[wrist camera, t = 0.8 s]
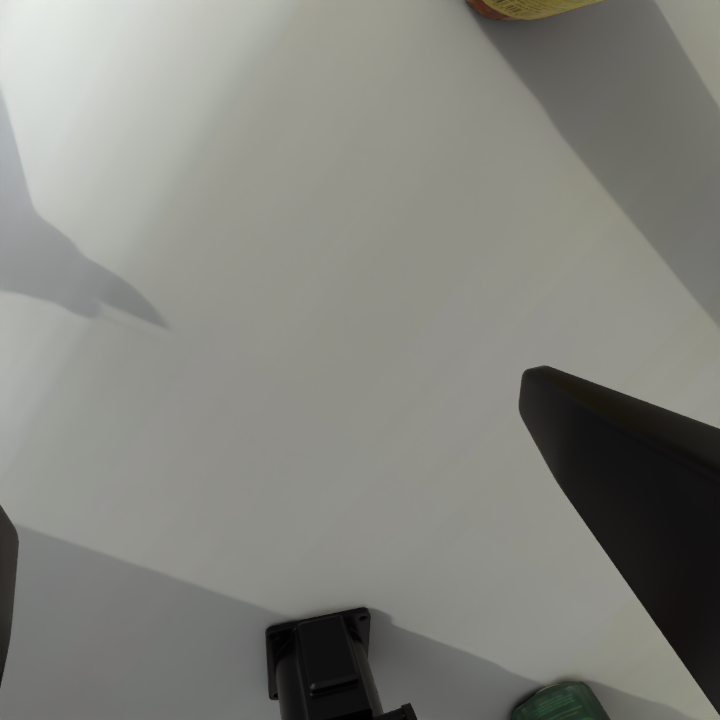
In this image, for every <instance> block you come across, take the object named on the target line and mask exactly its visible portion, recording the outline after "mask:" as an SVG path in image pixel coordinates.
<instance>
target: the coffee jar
mask: <svg viewBox="0 0 720 720" xmlns="http://www.w3.org/2000/svg"><path fill="white" fill-rule="evenodd" d="M511 720H611V719H610V718H609V716H608V715H607V713H606V711H605V710H604V708H603V707H602V705H601V704H600V702H599V700H598V699H597V697H596V696H595V694H594V693H593V691H592V690H591V688H590V687H589V686H588V685H586V684H585V683H583V682H571V683H563V684H554V685H551V686H548V687H545V688H543V689H541V690H539V691H538V692H536V693H535V695H534V696H533V697H532V698H530V699H529V700H528V701H526V702H525V703H523V704H522V705H521V706H520V707H518V708H516V709H515V711H514V713H513V715H512V719H511Z"/></svg>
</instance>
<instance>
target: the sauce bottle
mask: <svg viewBox="0 0 720 720" xmlns="http://www.w3.org/2000/svg"><path fill="white" fill-rule="evenodd" d="M466 1H467V2H468V3H469V4H470V6H471V7H473V8H474V9H475V10H477V12H478V13H480V14H482V15H484V16H485V17H487V18H494V19H503V20H523V19H524V20H535V19H539V18H544V17H549V16H553V15H556V14H559V13H562V12H566V11H569V10H573V9H576V8H579V7H583V6H586V5H589V4H593V3H597V2H601V1H605V0H466Z"/></svg>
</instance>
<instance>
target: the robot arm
mask: <svg viewBox="0 0 720 720" xmlns="http://www.w3.org/2000/svg"><path fill="white" fill-rule="evenodd" d="M519 412H520V415H521V417H522V419H523V421H524V423H525V425H526V427H527V429H528V430H529V432H530V434H531V436H532V438H533V440H534V441H535V443H536V445H537V447H538V449H539V451H540V452H541V454H542V456H543V458H544V460H545V462H546V463H547V465H548V467H549V469H550V471H551V473H552V474H553V476H554V478H555V479H556V481H557V483H558V484H559V486H560V487H561V489H562V490H563V492H564V493H565V495H566V496H567V498H568V499H569V500H570V502H571V503H572V505H573V506H574V508H575V509H576V510H577V512H578V513H579V515H580V516H581V518H582V519H583V521H584V522H585V523H586V525H587V526H588V528H589V529H590V531H591V532H592V533H593V535H594V536H595V538H596V539H597V541H598V542H599V543H600V545H601V546H602V548H603V549H604V551H605V552H606V553H607V555H608V556H609V558H610V559H611V561H612V562H613V563H614V565H615V566H616V568H617V569H618V571H619V572H620V573H621V575H622V576H623V578H624V579H625V581H626V582H627V583H628V585H629V586H630V588H631V589H632V591H633V592H634V594H635V595H636V596H637V598H638V599H639V601H640V602H641V604H642V605H643V606H644V608H645V609H646V611H647V612H648V614H649V615H650V616H651V618H652V619H653V621H654V622H655V624H656V625H657V626H658V628H659V629H660V631H661V632H662V634H663V635H664V636H665V638H666V639H667V641H668V642H669V644H670V645H671V646H672V648H673V649H674V651H675V652H676V654H677V655H678V656H679V658H680V659H681V661H682V662H683V664H684V665H685V667H686V668H687V669H688V671H689V672H690V674H691V675H692V677H693V678H694V679H695V681H696V682H697V684H698V685H699V687H700V688H701V689H702V691H703V692H704V694H705V695H706V697H707V698H708V699H709V701H710V702H711V704H712V705H713V707H714V708H715V709H716V711H717V712H718V714H719V715H720V429H719V428H716V427H713V426H710V425H708V424H705V423H702V422H700V421H697V420H694V419H691V418H689V417H686V416H683V415H680V414H678V413H675V412H672V411H669V410H667V409H664V408H661V407H658V406H656V405H653V404H650V403H648V402H645V401H642V400H639V399H637V398H634V397H631V396H628V395H626V394H623V393H620V392H617V391H615V390H612V389H609V388H607V387H604V386H601V385H598V384H596V383H593V382H590V381H587V380H585V379H582V378H579V377H576V376H574V375H571V374H568V373H565V372H563V371H560V370H557V369H555V368H552V367H549V366H539V367H535V368H530V369H527V370H525V371H524V373H523V375H522V380H521V388H520V397H519ZM18 546H19V541H18V534H17V531H16V529H15V527H14V525H13V524H12V522H11V521H10V519H9V518H8V516H7V514H6V513H5V511H4V510H3V508H2V506H1V505H0V686H1V682H2V677H3V672H4V667H5V662H6V658H7V653H8V647H9V642H10V635H11V627H12V617H13V605H14V593H15V582H16V570H17V558H18ZM369 632H370V613H369V610H368V609H367V608H365V607H361V608H357V609H352V610H347V611H342V612H337V613H333V614H328V615H323V616H318V617H313V618H309V619H304V620H299V621H294V622H289V623H285V624H280V625H275V626H271V627H269V628H268V629H267V630H266V632H265V638H266V656H267V673H268V691H269V698H270V699H271V700H279V705H280V712H281V719H282V720H417V717H416V715H415V713H414V710H413V708H412V706H411V704H410V703H408V704H405V705H402V706H401V708H399V709H396V710H393V711H390V712H388V713H385V714H384V711H383V708H382V705H381V702H380V698H379V695H378V692H377V689H376V685H375V682H374V679H373V676H372V672H371V669H370V666H369V663H368V647H369Z"/></svg>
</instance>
